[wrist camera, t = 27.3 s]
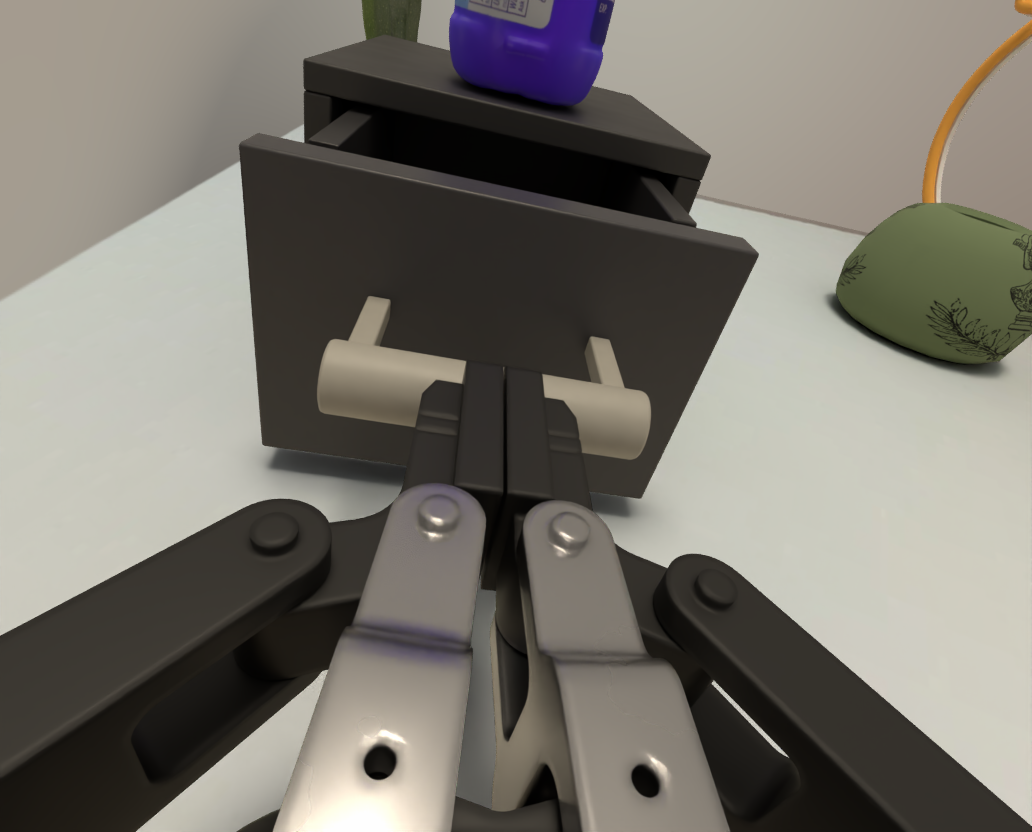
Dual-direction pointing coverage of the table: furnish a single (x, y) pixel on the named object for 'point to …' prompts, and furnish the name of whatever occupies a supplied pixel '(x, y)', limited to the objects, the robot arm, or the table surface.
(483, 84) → the bottle
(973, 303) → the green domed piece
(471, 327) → the drawer
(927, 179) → the lamp
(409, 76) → the cabinet
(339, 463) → the table surface
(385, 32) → the vegetable
